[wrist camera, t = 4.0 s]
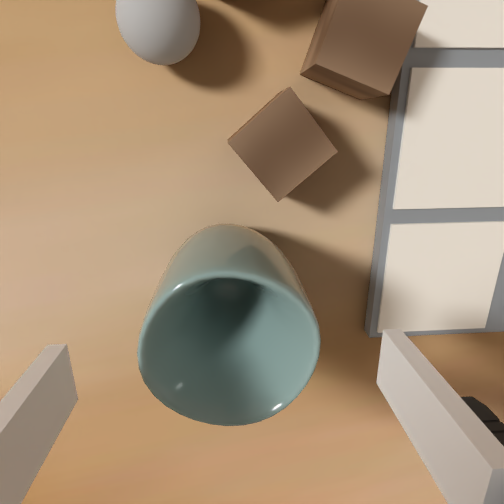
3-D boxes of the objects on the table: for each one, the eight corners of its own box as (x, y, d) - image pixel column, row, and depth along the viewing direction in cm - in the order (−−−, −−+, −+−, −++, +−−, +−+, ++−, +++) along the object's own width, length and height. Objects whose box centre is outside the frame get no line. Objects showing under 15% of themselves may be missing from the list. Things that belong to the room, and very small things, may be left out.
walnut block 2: (326, -2, 19) (350, -32, 16) (390, 27, 20) (428, 5, 16) (299, 74, 21) (315, 63, 17) (360, 99, 21) (389, 94, 18)
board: (418, -144, 18) (431, -163, 16) (644, -135, 18) (671, -152, 17) (364, 330, 27) (370, 339, 26) (516, 323, 28) (528, 331, 26)
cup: (305, 240, 24) (356, 315, 15) (253, 331, 26) (269, 448, 17) (199, 190, 22) (180, 237, 13) (153, 291, 25) (108, 395, 15)
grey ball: (123, -16, 19) (97, -51, 15) (200, -15, 19) (194, -49, 15) (132, 70, 20) (111, 57, 16) (204, 70, 20) (199, 58, 16)
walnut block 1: (227, 139, 22) (227, 143, 18) (278, 93, 21) (289, 86, 17) (269, 189, 23) (277, 202, 19) (318, 146, 22) (337, 151, 18)
